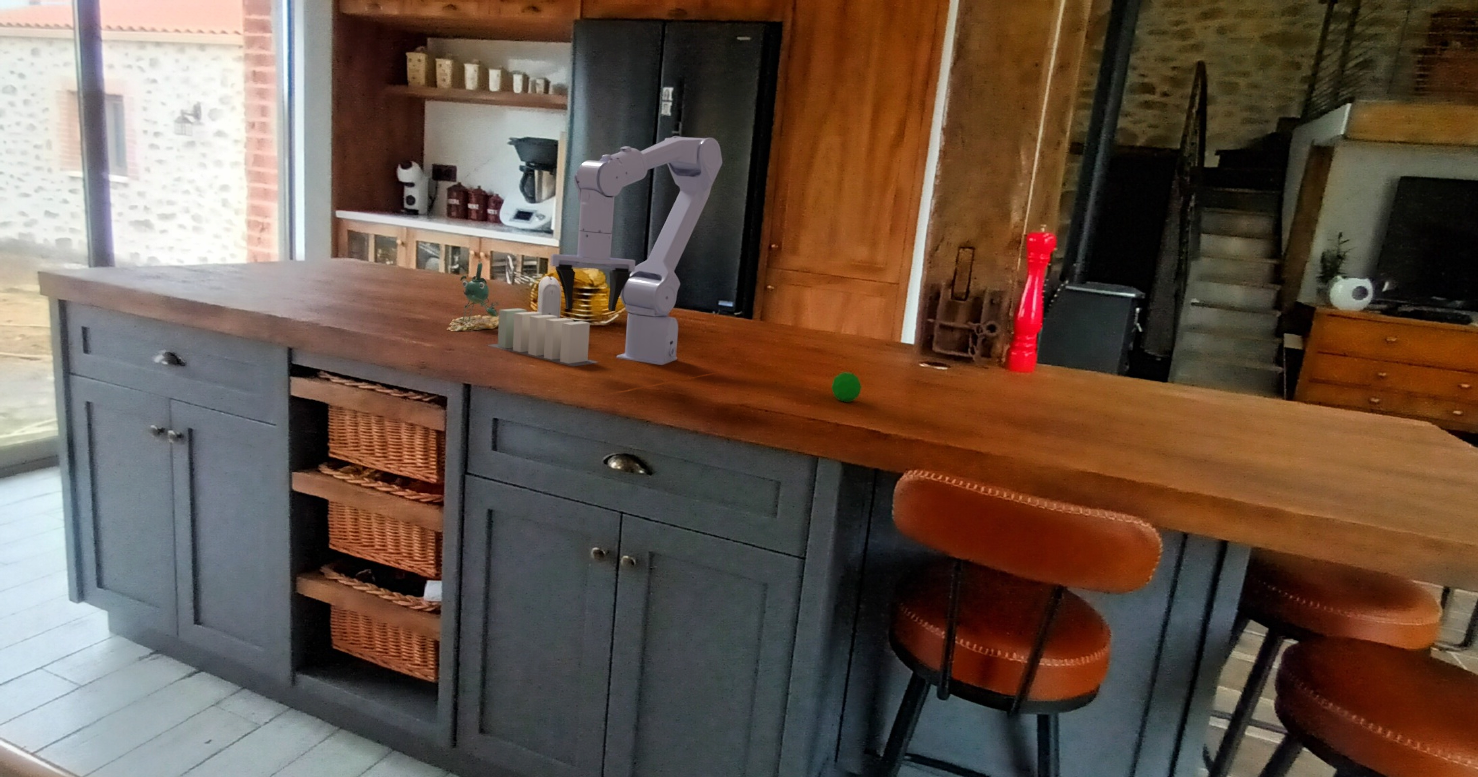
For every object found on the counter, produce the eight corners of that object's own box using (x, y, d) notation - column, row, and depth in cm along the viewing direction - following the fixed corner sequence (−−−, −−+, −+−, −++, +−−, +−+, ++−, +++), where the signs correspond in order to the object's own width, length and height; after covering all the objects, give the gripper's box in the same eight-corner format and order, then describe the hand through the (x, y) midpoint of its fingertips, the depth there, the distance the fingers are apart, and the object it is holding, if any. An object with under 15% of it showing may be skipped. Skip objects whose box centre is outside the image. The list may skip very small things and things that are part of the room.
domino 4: (587, 360, 159) (589, 322, 158) (568, 363, 155) (570, 324, 153) (579, 358, 160) (581, 321, 159) (560, 361, 156) (562, 323, 154)
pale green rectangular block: (525, 346, 167) (526, 309, 166) (505, 348, 163) (506, 311, 162) (517, 344, 168) (519, 308, 167) (497, 346, 164) (499, 309, 163)
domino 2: (555, 353, 163) (557, 316, 162) (536, 355, 159) (537, 317, 158) (547, 351, 164) (549, 314, 163) (528, 353, 160) (529, 316, 159)
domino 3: (571, 357, 161) (573, 319, 160) (551, 359, 157) (554, 321, 156) (563, 355, 162) (565, 317, 161) (543, 357, 158) (545, 319, 157)
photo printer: (560, 340, 179) (563, 280, 177) (539, 339, 178) (541, 278, 175) (555, 331, 189) (558, 274, 186) (535, 330, 187) (537, 273, 185)
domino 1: (540, 349, 165) (541, 313, 164) (520, 352, 161) (522, 314, 160) (532, 347, 166) (534, 311, 165) (512, 350, 162) (514, 313, 161)
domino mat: (599, 363, 159) (599, 362, 159) (572, 367, 153) (572, 366, 153) (514, 343, 170) (514, 342, 170) (486, 346, 164) (486, 345, 164)
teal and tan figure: (525, 327, 191) (523, 260, 187) (467, 344, 176) (464, 272, 171) (490, 320, 195) (488, 254, 191) (431, 337, 180) (427, 265, 175)
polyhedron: (836, 403, 146) (839, 375, 145) (825, 396, 150) (829, 369, 149) (863, 404, 147) (867, 377, 146) (852, 397, 152) (856, 371, 151)
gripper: (629, 233, 157) (624, 308, 160) (548, 227, 151) (544, 304, 154) (640, 236, 151) (634, 314, 154) (557, 229, 145) (552, 310, 148)
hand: (590, 309), depth 154 cm, fingers open, 7 cm apart
